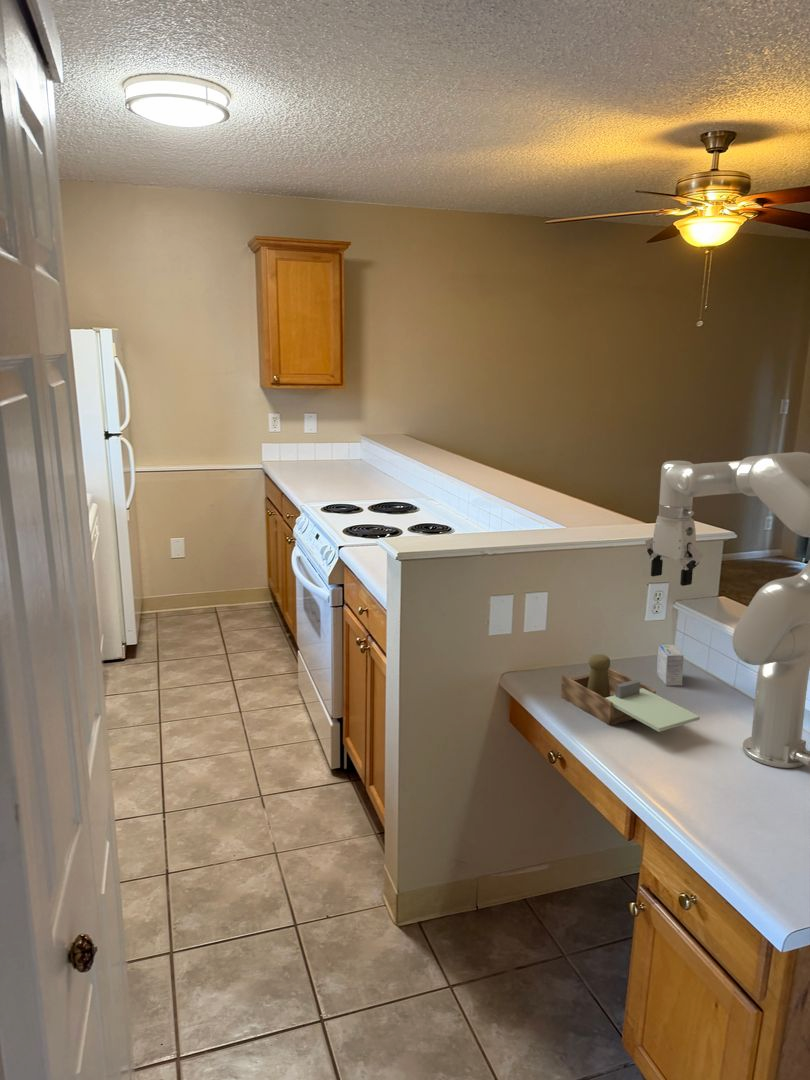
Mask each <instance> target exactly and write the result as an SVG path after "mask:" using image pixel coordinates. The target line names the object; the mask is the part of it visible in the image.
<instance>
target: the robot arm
mask: <svg viewBox="0 0 810 1080" xmlns="http://www.w3.org/2000/svg"><path fill="white" fill-rule="evenodd" d="M659 486H660V487H659V505H658V515H657V517H656V520H655V524H654V529H653V535H652V536H653V537H652V538H649V539H647V540H645V541H644V542H645V545H646V549H647V551H646V552H647V554H648V555H649V560H650V561H651V564H650V565H651V566H650V567H651V568H650V576H651V577H659V576H662V574H663V564H664V563H663V559H662V558H663V557H664V558H668V559H671V560H675V561H678V562H679V563H680V564H681V566H682V568H683V569H680V581H679V584H680V586H682V587H685V586H689V585H692V583H693V574H694V573H693V571H694V569H696V567H697V566H698V565H699V564H700V562H701V560H702V559H703V553H701V552H700V550H698V548H697V535H696V534H697V533H696V525H695V524H696V523H695V519H693V518H692V517H693V516H694V515H695V511H693V499H694V498H696V497H697V498H698V497H707V496H715V495H716V496H718V495H727V494H728V495H729V494H743V495H745V496H748V497H757V498H758V499H759V500H760V501H761V502H762V503H763V504H764V505H765V506H766V507H767V508H768V509H769V510H770V511H771V513H773V514H774V515H775V516H776V517H777V518H778V519H779V520H780V522H782V524H784V526H786V527H787V528H788V529H789V530H791V532H793V533H795V534H797V535H798V536H801V537H803V538H810V452H809V453H808V452H803V451H795V452H779V453H769V454H762V455H753V456H752V455H751V456H747V457H745V458H743V459H742V460H732V461H722V462H721V461H717V462H706V463H705V462H703V463H692V461H687V460H667V461H665V462H663V463H662V465H661V470H660V485H659ZM732 648H733V651H734V654H735V655H736V656H737V658H739V660H741V661H742V662H743V663H745V664H748V665H751V666H758V671H757V675H756V676H757V678H756V685H755V695H754V705H753V706H754V707H753V715H752V717H753V719H752V726H751V736H750V737H747V738H746V739H744V740H743V742H742V750H743V752H744V753H745V755H747V756H748V757H749V758H750V759H753V760H754V761H756V762H758V763H760V764H763V765H766V766H770V767H775V768H783V769H792V768H793V769H795V768H798V767H801V766H804V765H806V766H808V767H810V750H808V749H807V746H806V745H807V741H806V740H804V739H802V735H803V728H804V727H803V726H804V718H805V710H806V709H805V708H806V701H807V700H806V698H807V691H808V683H809V676H810V675H809V674H810V559H809V560H808V562H806V565H805V566H804V568H802V570H801V571H800V572H799V573H797V574H795V575H792V576H789V577H784V578H783V577H782V578H776V579H773V580H771V581H769V582H767V583H766V584H764V585H763V586H762V587H760V588H759V589H758V591H757V592H756V593H755V595H754V596H753V597H752V599H751V601H750V602H749V604H748V605H747V608H745V611H744V612H743V614H742V616H741V617H740V619H739V620H738V622H737V624H736V626H735V628H734V630H733V633H732Z"/></svg>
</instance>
